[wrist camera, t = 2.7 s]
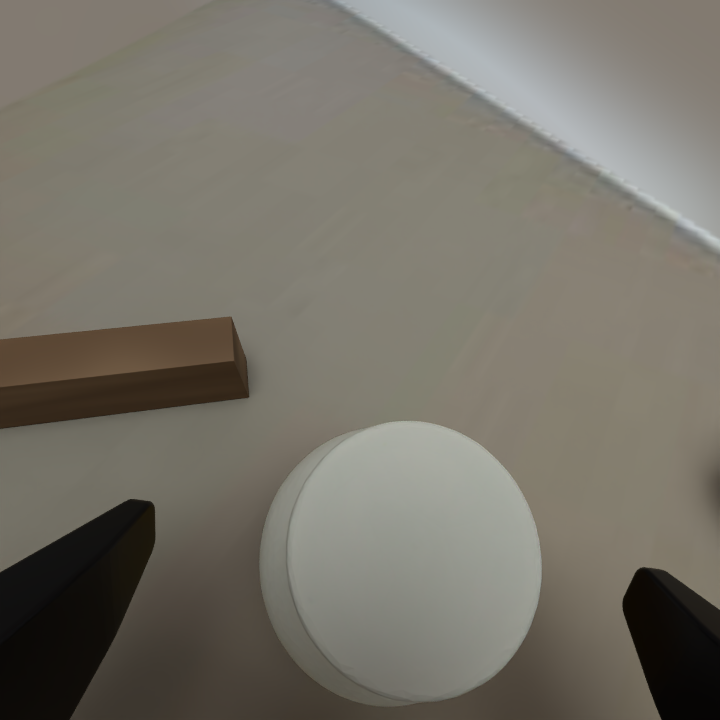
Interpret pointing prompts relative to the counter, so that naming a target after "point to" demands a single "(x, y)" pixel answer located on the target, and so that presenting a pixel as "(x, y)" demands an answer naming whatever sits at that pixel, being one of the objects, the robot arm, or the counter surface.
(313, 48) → the counter surface
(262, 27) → the counter surface
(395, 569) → the supplement bottle
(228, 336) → the walnut corner walls
